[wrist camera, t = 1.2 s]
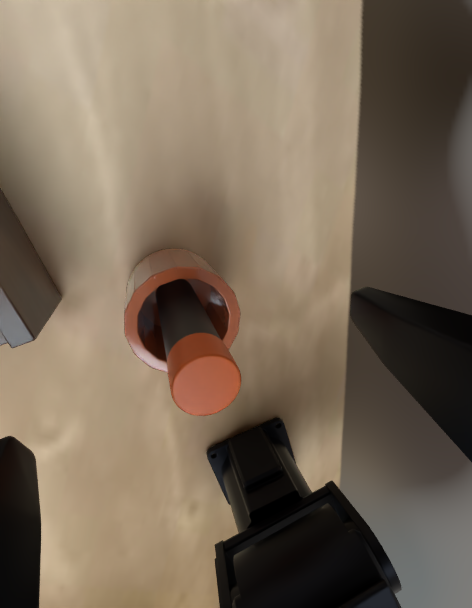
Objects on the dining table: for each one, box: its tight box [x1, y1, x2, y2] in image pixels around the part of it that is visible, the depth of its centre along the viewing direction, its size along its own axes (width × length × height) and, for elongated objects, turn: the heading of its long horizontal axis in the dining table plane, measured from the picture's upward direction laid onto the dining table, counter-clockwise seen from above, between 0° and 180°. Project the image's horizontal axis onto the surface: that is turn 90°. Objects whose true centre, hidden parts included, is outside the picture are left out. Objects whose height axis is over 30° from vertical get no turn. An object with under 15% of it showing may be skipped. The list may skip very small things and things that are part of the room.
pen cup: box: [124, 248, 240, 372], centre depth 18 cm, size 6×6×5 cm
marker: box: [156, 279, 241, 416], centre depth 15 cm, size 2×2×10 cm
